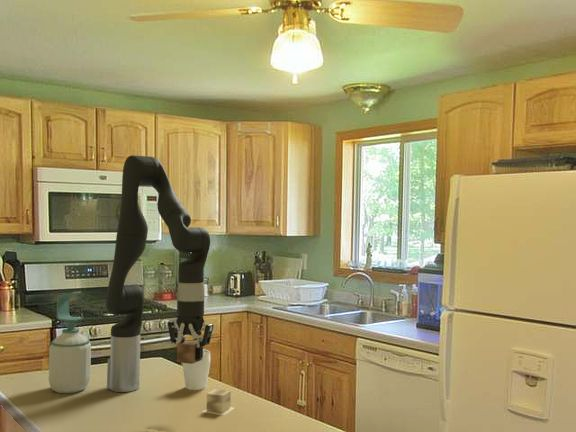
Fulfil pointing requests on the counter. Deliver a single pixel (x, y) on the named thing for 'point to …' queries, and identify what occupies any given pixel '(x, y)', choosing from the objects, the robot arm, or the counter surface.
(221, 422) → the counter surface
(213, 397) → the maple block
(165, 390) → the counter surface
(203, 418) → the counter surface
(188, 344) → the walnut block
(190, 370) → the cup
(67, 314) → the soap bottle
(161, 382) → the counter surface
